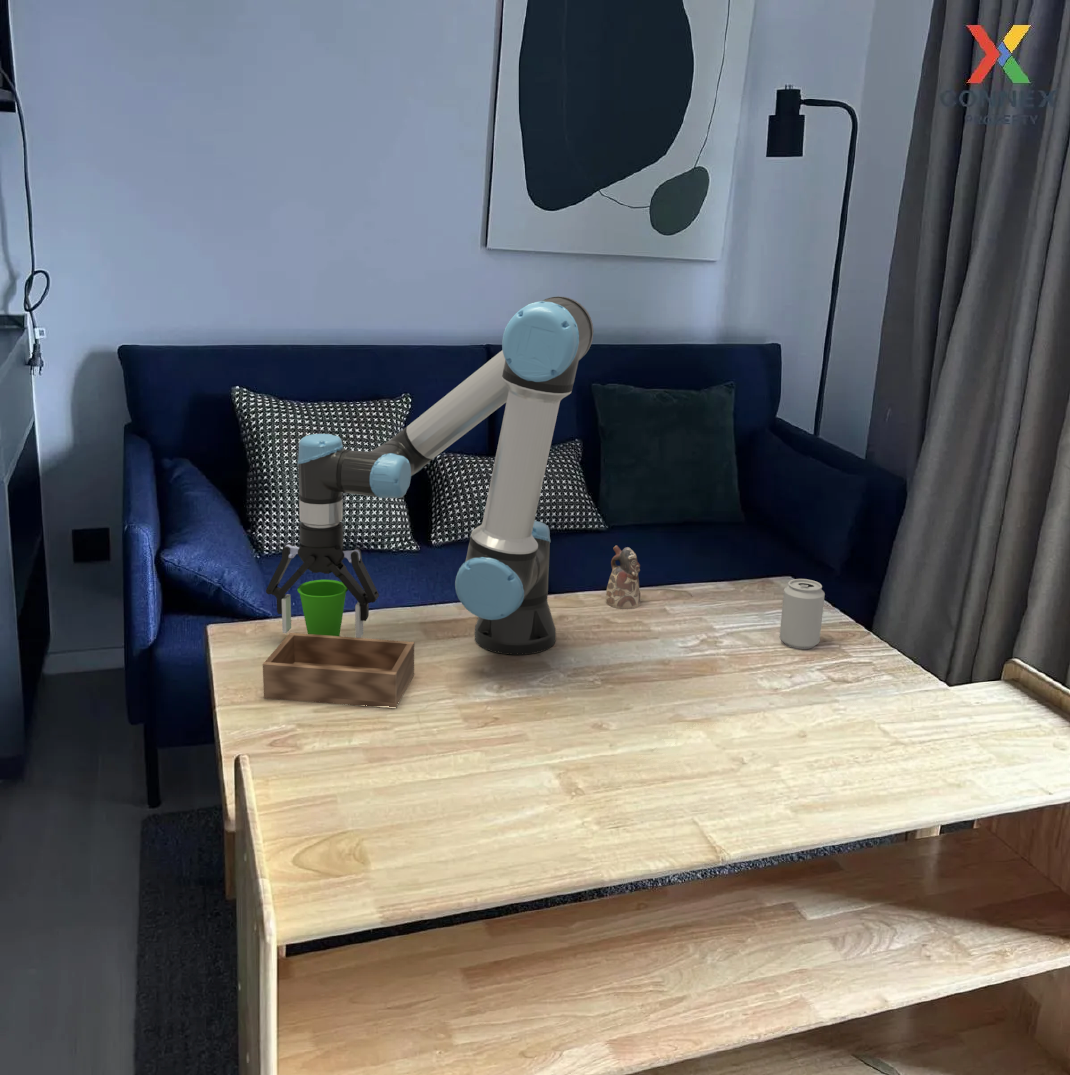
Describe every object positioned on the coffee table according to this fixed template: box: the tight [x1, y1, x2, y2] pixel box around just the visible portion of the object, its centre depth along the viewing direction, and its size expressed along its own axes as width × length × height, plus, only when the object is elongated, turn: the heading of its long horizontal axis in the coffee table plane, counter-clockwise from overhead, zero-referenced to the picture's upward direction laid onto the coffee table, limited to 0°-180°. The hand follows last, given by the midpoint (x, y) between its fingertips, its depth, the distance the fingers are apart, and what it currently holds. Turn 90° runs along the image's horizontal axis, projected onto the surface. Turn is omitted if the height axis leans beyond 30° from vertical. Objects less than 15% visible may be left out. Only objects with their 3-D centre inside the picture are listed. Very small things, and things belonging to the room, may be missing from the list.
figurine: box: [605, 545, 641, 610], centre depth 240 cm, size 7×7×12 cm
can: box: [778, 578, 826, 650], centre depth 222 cm, size 8×8×12 cm
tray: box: [262, 632, 415, 708], centre depth 198 cm, size 22×14×6 cm, turn 83°
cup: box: [296, 579, 349, 636], centre depth 214 cm, size 9×9×11 cm
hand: (323, 633), depth 215 cm, fingers open, 13 cm apart
